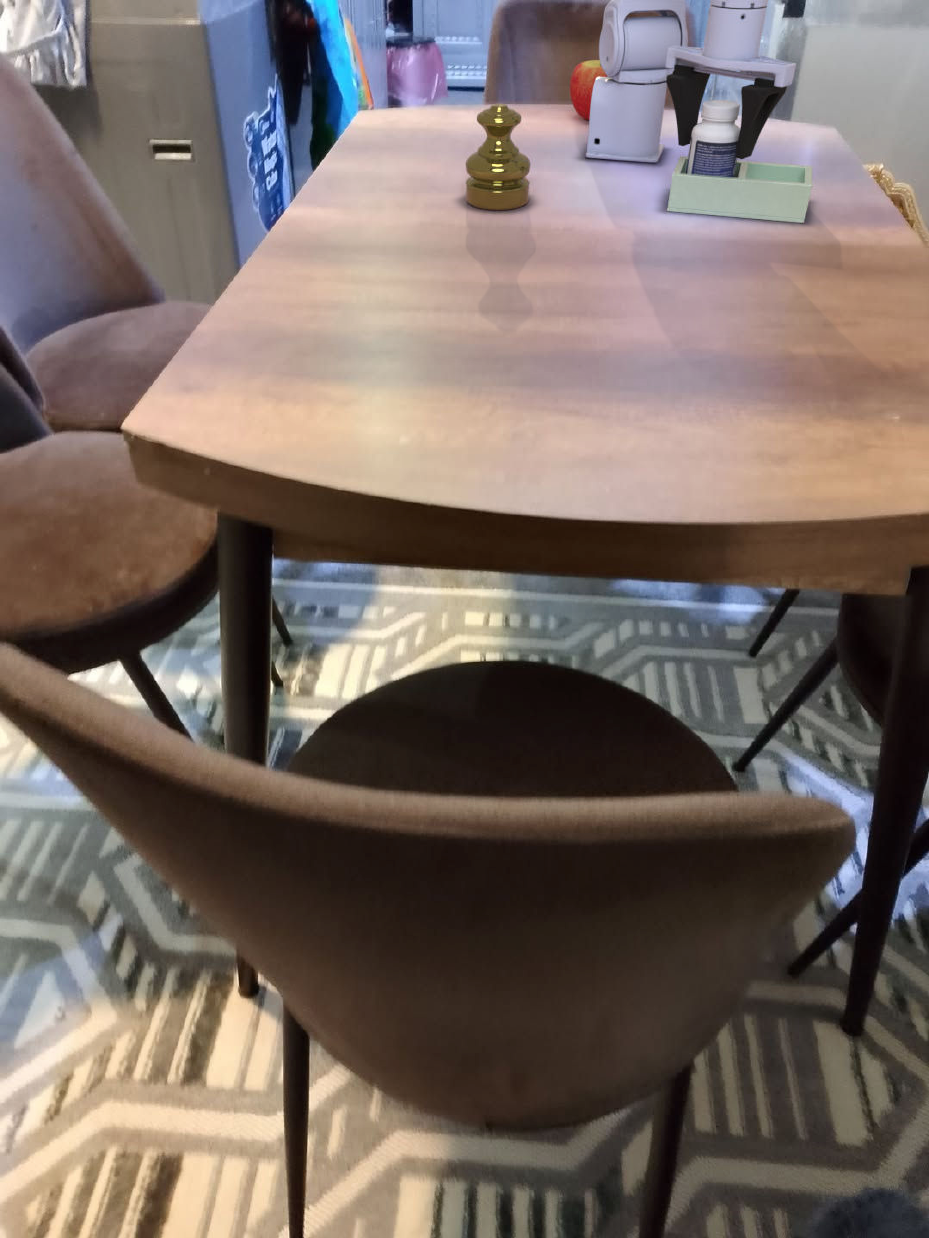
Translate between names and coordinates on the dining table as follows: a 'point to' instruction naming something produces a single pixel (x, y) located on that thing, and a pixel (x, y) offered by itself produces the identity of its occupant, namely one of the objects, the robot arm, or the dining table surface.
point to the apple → (584, 85)
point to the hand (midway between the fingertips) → (714, 150)
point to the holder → (744, 191)
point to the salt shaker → (498, 164)
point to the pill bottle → (715, 140)
